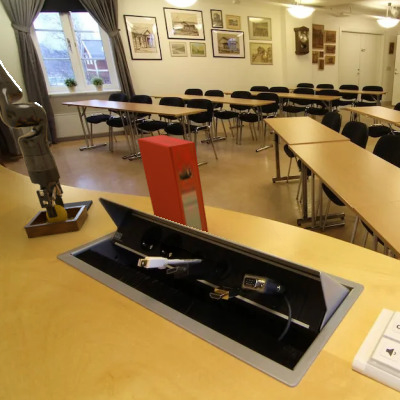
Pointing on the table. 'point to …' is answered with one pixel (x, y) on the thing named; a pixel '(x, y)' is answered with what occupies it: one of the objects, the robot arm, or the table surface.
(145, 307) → the table surface
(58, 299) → the table surface
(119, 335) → the table surface
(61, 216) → the lemon
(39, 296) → the table surface
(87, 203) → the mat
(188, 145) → the file binder
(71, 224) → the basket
